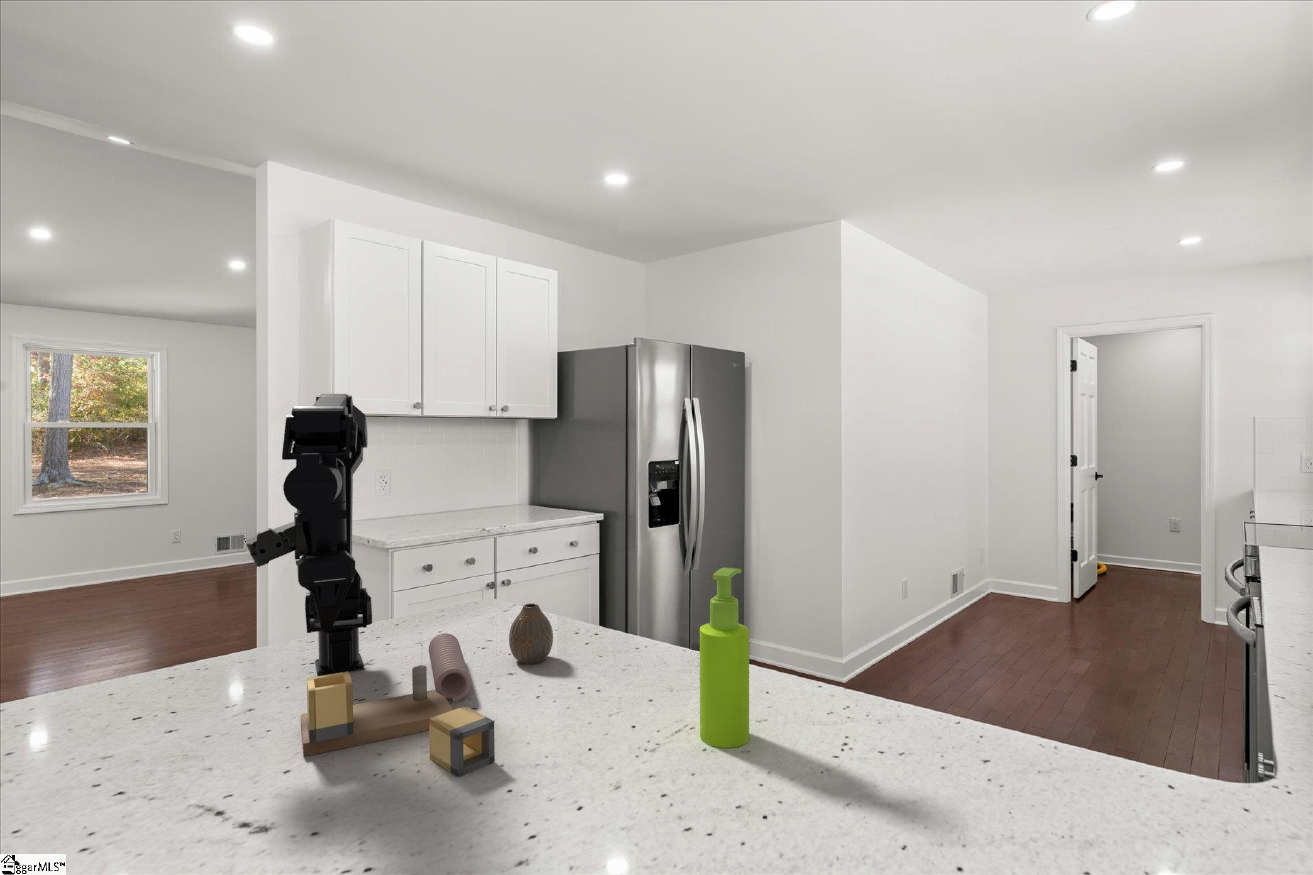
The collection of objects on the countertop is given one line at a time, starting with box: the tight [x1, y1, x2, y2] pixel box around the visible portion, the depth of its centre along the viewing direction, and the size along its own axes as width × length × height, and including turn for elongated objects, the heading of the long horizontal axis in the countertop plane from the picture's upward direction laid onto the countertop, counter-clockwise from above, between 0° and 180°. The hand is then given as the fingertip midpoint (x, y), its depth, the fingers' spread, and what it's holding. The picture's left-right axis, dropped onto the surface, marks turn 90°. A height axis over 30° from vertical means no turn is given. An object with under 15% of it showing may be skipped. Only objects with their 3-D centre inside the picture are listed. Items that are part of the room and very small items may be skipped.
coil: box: [428, 632, 472, 703], centre depth 103 cm, size 5×5×18 cm
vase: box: [508, 603, 554, 665], centre depth 111 cm, size 7×7×9 cm
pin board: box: [300, 665, 454, 758], centre depth 88 cm, size 9×17×6 cm, turn 119°
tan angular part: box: [428, 705, 496, 778], centre depth 79 cm, size 5×5×6 cm
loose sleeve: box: [306, 670, 354, 743], centre depth 83 cm, size 5×5×6 cm
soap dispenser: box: [699, 567, 750, 749], centre depth 84 cm, size 6×7×20 cm
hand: (323, 621), depth 91 cm, fingers open, 9 cm apart
